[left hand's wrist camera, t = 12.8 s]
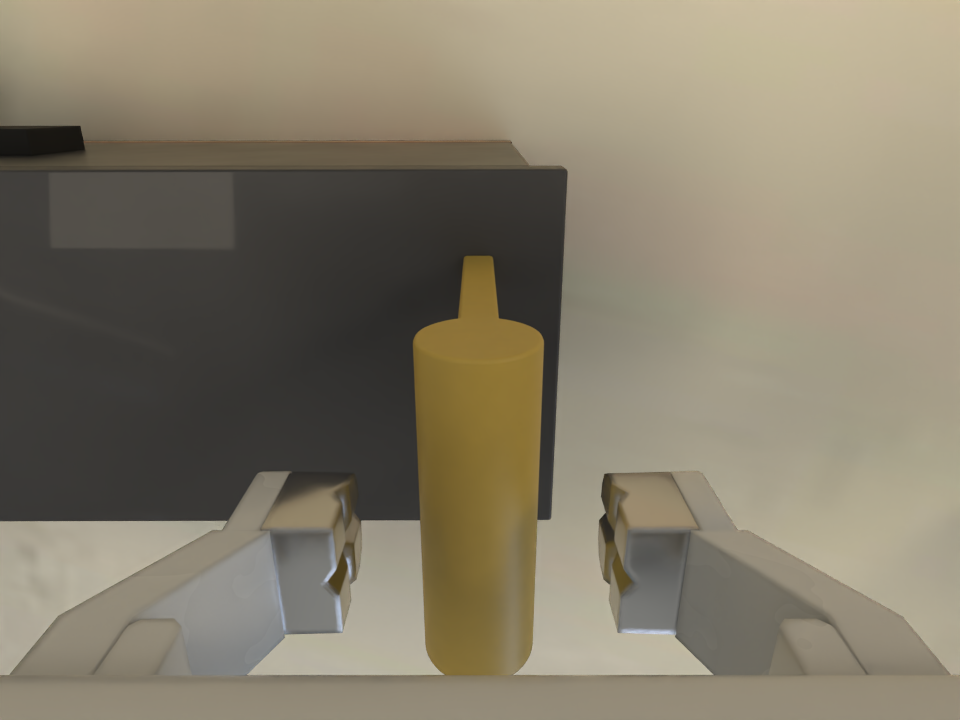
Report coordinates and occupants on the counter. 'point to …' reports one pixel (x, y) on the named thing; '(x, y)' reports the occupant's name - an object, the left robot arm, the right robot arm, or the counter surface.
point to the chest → (280, 154)
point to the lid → (294, 358)
